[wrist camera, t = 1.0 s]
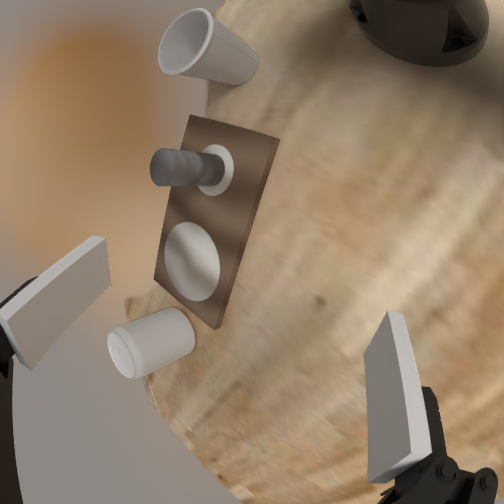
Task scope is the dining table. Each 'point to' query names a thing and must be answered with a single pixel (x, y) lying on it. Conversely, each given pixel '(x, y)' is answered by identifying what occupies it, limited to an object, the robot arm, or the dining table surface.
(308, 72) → the dining table surface
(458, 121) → the dining table surface
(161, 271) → the board
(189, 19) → the dixie cup
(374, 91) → the dining table surface
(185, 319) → the beverage can
